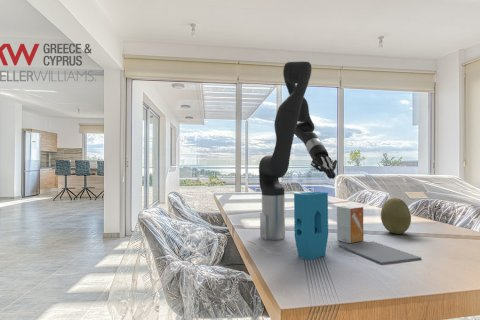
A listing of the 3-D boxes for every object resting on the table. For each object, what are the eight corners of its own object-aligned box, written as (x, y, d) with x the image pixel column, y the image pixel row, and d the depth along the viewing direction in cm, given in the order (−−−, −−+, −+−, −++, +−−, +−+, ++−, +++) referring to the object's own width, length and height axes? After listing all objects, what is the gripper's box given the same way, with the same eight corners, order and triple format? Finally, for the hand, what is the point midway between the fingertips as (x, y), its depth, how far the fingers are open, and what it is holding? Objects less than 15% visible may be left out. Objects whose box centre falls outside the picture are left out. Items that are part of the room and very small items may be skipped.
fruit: (377, 233, 124) (376, 198, 124) (385, 229, 132) (385, 195, 132) (407, 237, 116) (406, 200, 116) (414, 232, 124) (413, 197, 125)
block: (306, 261, 88) (305, 195, 89) (293, 257, 92) (292, 193, 93) (329, 253, 96) (328, 192, 96) (317, 250, 100) (316, 191, 100)
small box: (350, 243, 108) (350, 208, 108) (336, 240, 113) (336, 206, 113) (364, 240, 112) (363, 206, 112) (349, 237, 117) (349, 204, 118)
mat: (381, 264, 85) (381, 262, 85) (338, 246, 104) (338, 244, 104) (421, 259, 89) (421, 257, 89) (373, 243, 108) (373, 241, 108)
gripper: (306, 143, 131) (322, 171, 119) (332, 144, 135) (350, 171, 123) (300, 155, 136) (315, 183, 124) (325, 156, 140) (342, 183, 128)
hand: (332, 177), depth 123 cm, fingers closed
